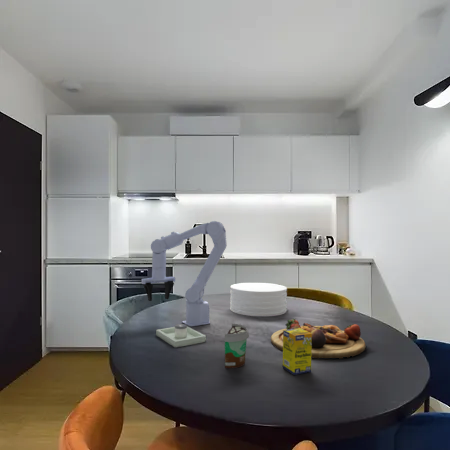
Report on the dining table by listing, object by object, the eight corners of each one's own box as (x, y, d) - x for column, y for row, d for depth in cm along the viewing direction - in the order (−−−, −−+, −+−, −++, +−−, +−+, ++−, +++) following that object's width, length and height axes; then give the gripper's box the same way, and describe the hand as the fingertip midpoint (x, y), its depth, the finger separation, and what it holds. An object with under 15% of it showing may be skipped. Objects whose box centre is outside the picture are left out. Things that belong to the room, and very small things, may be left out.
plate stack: (295, 308, 179) (295, 285, 179) (272, 319, 155) (272, 293, 155) (247, 301, 194) (247, 281, 194) (219, 311, 170) (219, 287, 170)
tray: (185, 330, 136) (185, 325, 136) (206, 341, 123) (206, 335, 123) (156, 335, 130) (156, 329, 130) (175, 347, 116) (175, 341, 116)
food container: (245, 372, 97) (246, 336, 97) (223, 370, 98) (224, 334, 98) (251, 356, 109) (251, 324, 109) (231, 355, 110) (232, 323, 110)
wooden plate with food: (363, 336, 133) (363, 314, 133) (368, 365, 103) (368, 337, 103) (279, 329, 143) (279, 309, 144) (261, 354, 113) (261, 328, 114)
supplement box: (294, 375, 95) (294, 335, 95) (282, 367, 100) (282, 329, 101) (312, 372, 97) (312, 333, 98) (299, 364, 103) (299, 327, 103)
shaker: (180, 334, 130) (180, 323, 130) (189, 336, 127) (189, 325, 127) (171, 337, 126) (172, 325, 126) (180, 339, 123) (181, 328, 123)
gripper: (170, 265, 156) (170, 296, 156) (139, 267, 148) (138, 299, 148) (177, 267, 150) (177, 299, 150) (145, 269, 142) (144, 302, 142)
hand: (158, 299), depth 148 cm, fingers open, 7 cm apart
